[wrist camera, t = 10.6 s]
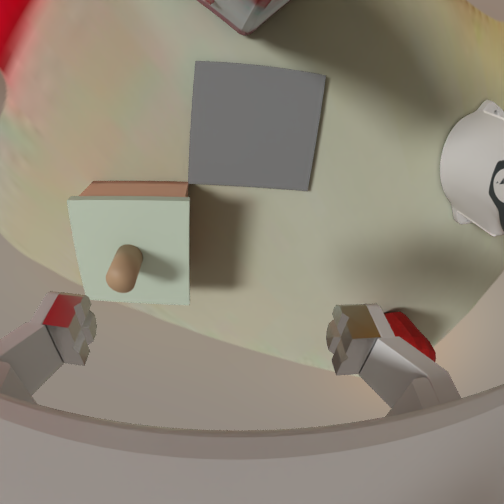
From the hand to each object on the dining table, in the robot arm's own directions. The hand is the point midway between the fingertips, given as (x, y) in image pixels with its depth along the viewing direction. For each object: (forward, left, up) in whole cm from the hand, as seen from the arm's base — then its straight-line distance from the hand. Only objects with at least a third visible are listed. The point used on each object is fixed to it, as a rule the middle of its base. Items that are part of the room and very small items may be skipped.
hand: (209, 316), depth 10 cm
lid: (+8, +10, -20) cm, 24 cm away
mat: (-4, -2, -25) cm, 26 cm away
